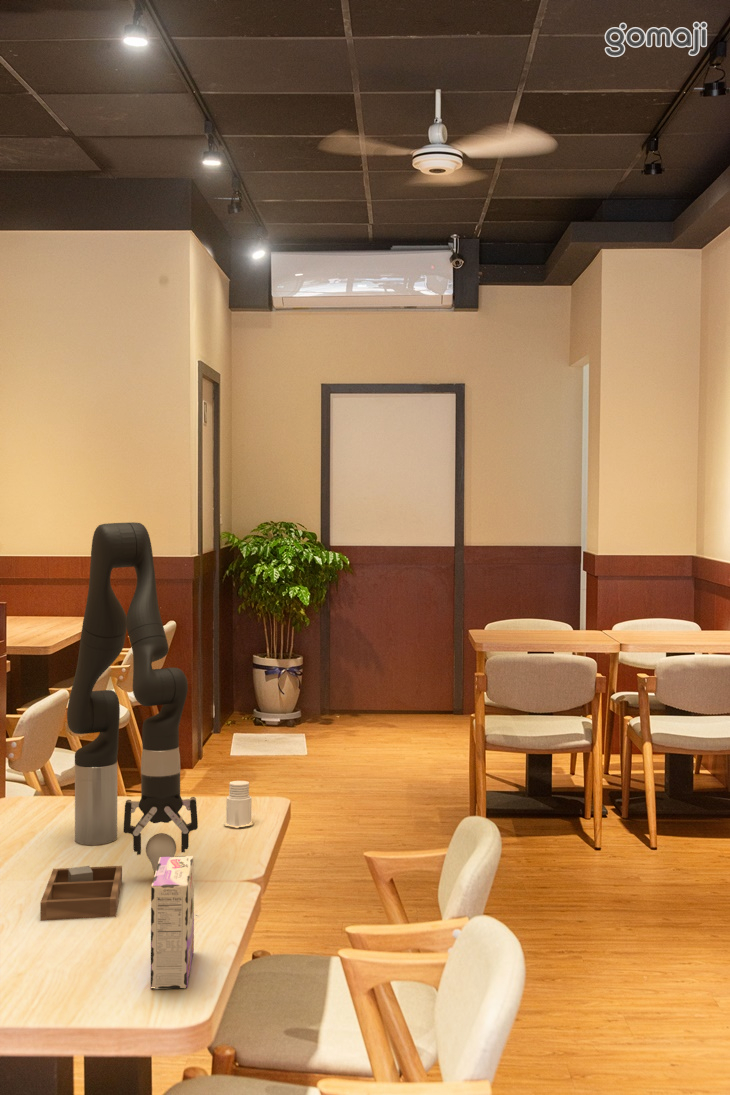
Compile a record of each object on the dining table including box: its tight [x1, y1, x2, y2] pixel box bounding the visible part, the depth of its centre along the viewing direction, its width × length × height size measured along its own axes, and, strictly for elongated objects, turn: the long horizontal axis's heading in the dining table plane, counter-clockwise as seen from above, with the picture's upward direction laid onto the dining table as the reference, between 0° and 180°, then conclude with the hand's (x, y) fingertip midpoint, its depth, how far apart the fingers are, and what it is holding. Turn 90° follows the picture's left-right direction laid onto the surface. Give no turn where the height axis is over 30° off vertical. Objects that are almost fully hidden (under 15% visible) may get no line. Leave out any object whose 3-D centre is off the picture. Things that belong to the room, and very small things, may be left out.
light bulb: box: [145, 832, 177, 876], centre depth 209 cm, size 6×6×10 cm
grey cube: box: [67, 865, 93, 882], centre depth 203 cm, size 4×4×4 cm
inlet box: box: [39, 865, 123, 921], centre depth 198 cm, size 18×13×4 cm
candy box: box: [150, 855, 195, 989], centre depth 170 cm, size 14×6×16 cm, turn 5°
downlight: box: [225, 780, 252, 826], centre depth 250 cm, size 8×7×10 cm
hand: (161, 852), depth 209 cm, fingers open, 8 cm apart
